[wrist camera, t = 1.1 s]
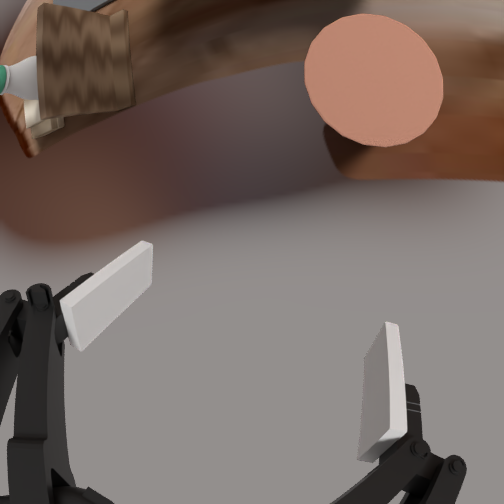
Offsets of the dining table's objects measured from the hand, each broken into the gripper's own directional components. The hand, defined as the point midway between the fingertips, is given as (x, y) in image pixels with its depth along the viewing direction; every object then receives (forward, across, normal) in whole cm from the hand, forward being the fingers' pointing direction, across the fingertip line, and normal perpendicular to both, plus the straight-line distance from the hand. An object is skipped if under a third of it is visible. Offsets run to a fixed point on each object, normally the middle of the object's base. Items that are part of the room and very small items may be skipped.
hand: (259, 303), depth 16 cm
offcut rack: (+28, -45, +10) cm, 55 cm away
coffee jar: (+29, +3, +13) cm, 32 cm away
